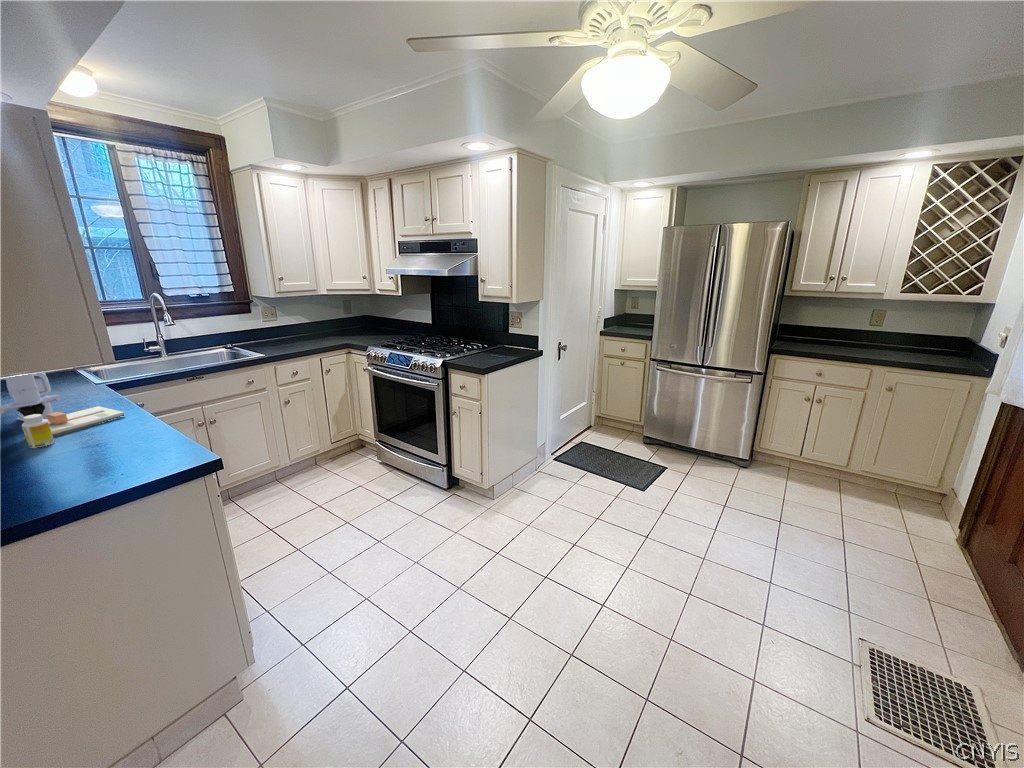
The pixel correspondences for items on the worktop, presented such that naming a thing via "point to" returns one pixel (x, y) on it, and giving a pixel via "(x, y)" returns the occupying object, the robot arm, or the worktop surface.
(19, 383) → the robot arm
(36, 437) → the supplement bottle
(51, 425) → the white flat board
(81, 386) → the worktop surface
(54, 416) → the switch
